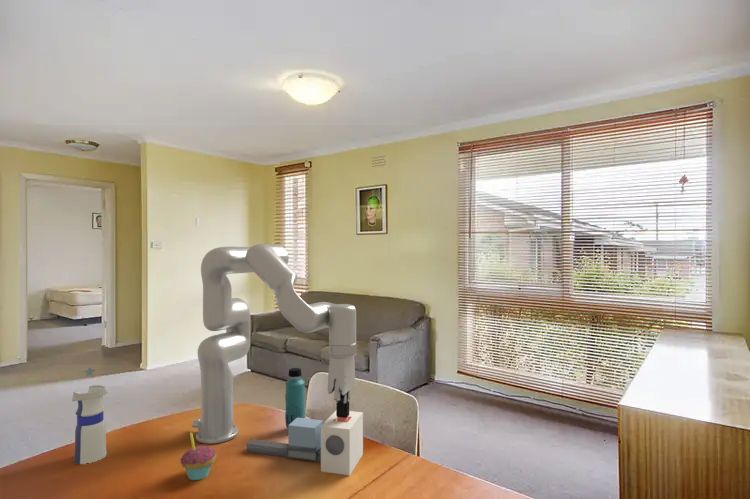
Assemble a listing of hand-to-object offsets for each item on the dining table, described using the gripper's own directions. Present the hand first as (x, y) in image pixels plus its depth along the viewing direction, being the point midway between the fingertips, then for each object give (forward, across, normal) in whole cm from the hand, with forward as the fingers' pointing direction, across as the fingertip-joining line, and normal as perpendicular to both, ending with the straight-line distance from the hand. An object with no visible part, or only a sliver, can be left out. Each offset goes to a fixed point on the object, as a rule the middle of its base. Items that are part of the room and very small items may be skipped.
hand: (342, 416), depth 118 cm
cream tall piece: (+13, +16, -70) cm, 73 cm away
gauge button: (+7, 0, 0) cm, 7 cm away
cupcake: (+13, +16, -34) cm, 40 cm away
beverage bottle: (+13, -16, -22) cm, 30 cm away
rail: (+13, 0, -17) cm, 21 cm away
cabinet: (+13, 0, 0) cm, 13 cm away
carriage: (+12, 0, -11) cm, 16 cm away
